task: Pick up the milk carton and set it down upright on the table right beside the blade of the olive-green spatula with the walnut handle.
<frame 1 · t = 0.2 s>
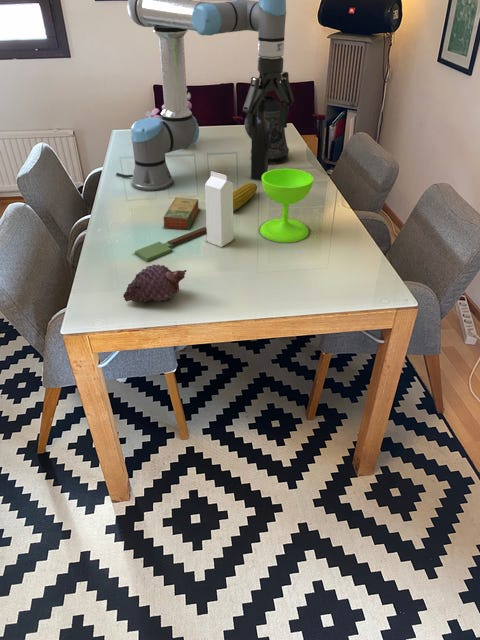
hand: (268, 131, 163), 28 cm above the table, tool pointing down, fingers open, 13 cm apart
pine cone: (156, 297, 137), on the table
food: (241, 203, 187), on the table
flower: (169, 147, 236), on the table
beer stein: (267, 159, 224), on the table
spatula: (174, 244, 161), on the table
wine bottle: (259, 178, 206), on the table
carton: (182, 219, 176), on the table
wineglass: (284, 231, 168), on the table
milk: (220, 241, 163), on the table
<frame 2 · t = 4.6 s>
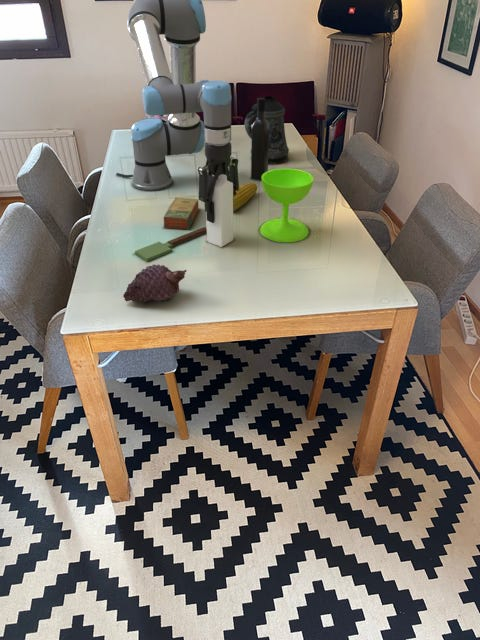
hand: (219, 217, 158), 8 cm above the table, tool pointing down, fingers closed on milk, 7 cm apart
milk: (220, 241, 163), on the table, touching gripper
everything else where it was.
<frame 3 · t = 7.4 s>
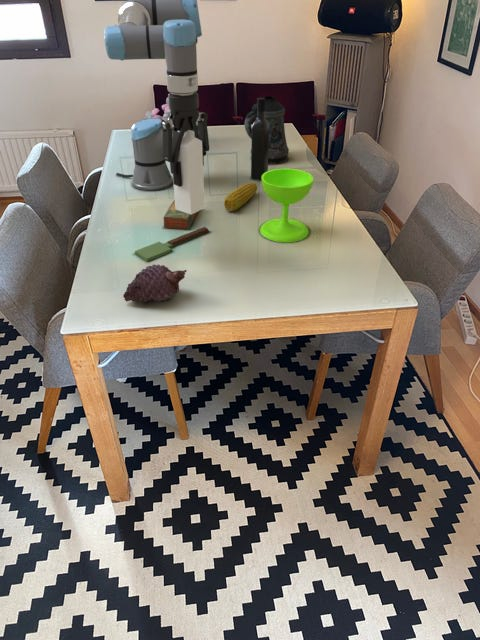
hand: (188, 181, 141), 23 cm above the table, tool pointing down, fingers closed on milk, 7 cm apart
milk: (190, 209, 146), point 15 cm above the table, touching gripper
everything else where it was.
when the fingers open (8 cm above the table, at t = 10.5 s): milk stays where it is, on the table.
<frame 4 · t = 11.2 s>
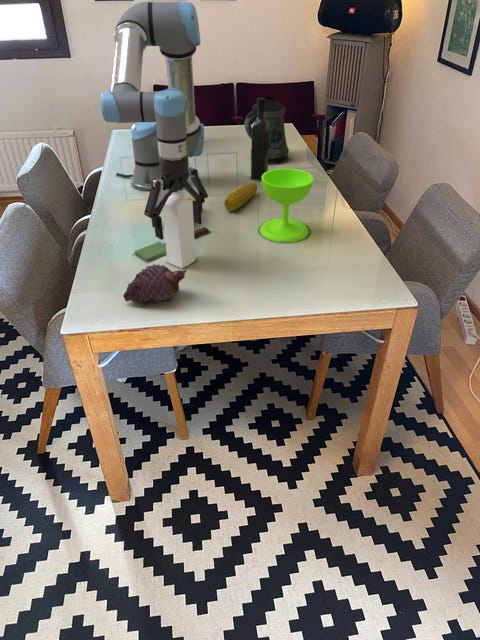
hand: (179, 230, 146), 10 cm above the table, tool pointing down, fingers open, 13 cm apart
milk: (181, 262, 152), on the table
everything else where it was.
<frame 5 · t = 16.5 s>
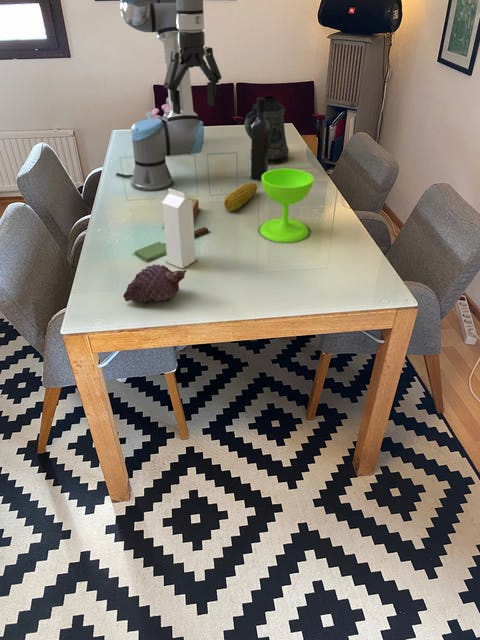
hand: (194, 109, 158), 35 cm above the table, tool pointing down, fingers open, 13 cm apart
nothing on the table moved.
at the end: milk inside the target area on the table beside the spatula (0.1 cm from its centre), on the table; milk tilted 0°; the gripper is holding nothing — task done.
